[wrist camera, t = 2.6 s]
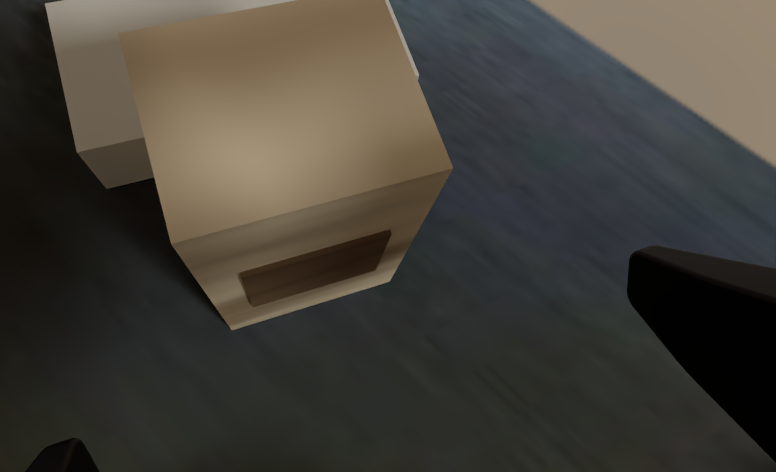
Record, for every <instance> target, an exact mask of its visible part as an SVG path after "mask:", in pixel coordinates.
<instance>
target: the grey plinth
mask: <svg viewBox="0 0 776 472" xmlns="http://www.w3.org/2000/svg"><path fill="white" fill-rule="evenodd" d="M290 1H295V0H63V1H57V2H51V3H45V6H46V11H47V16H48V20H49V25H50V30H51V34H52V39H53V44H54V48H55V53H56V58H57V62H58V67H59V72H60V76H61V81H62V86H63V90H64V95H65V100H66V104H67V109H68V114H69V118H70V123H71V128H72V132H73V137H74V142H75V146H76V151H77V153H78V154H79V156H80V157H81V158H82V159H83V161H84V162H85V163H86V164H87V166H88V167H89V168H90V169H91V171H92V172H93V173H94V174H95V175H96V177H97V178H98V179H99V180H100V182H101V183H102V184H103V185H104V187H105V188H106V189H109V188H113V187H117V186H121V185H125V184H129V183H134V182H138V181H142V180H146V179H150V178H154V174H153V170H152V166H151V162H150V158H149V154H148V150H147V146H146V142H145V138H144V134H143V130H142V126H141V122H140V118H139V114H138V110H137V106H136V103H135V99H134V95H133V91H132V87H131V83H130V79H129V75H128V71H127V67H126V63H125V59H124V55H123V51H122V47H121V43H120V39H119V35H118V33H121V32H127V31H132V30H137V29H143V28H148V27H154V26H159V25H165V24H170V23H176V22H181V21H186V20H192V19H197V18H203V17H208V16H214V15H219V14H225V13H230V12H235V11H241V10H246V9H252V8H257V7H263V6H268V5H273V4H279V3H284V2H290ZM385 2H386V4H387V6H388V9H389V11H390V14H391V16H392V19H393V21H394V24H395V26H396V29H397V31H398V34H399V36H400V38H401V41H402V43H403V46H404V48H405V51H406V53H407V56H408V58H409V61H410V63H411V65H412V68H413V70H414V73H415V75H416V78H417V80H418V77H419V74H418V71H417V69H416V66H415V64H414V61H413V59H412V57H411V54H410V52H409V49H408V47H407V44H406V42H405V39H404V37H403V35H402V32H401V30H400V27H399V25H398V22H397V20H396V17H395V15H394V13H393V10H392V8H391V5H390V3H389V0H385Z"/></svg>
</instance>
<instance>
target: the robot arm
mask: <svg viewBox="0 0 776 472" xmlns="http://www.w3.org/2000/svg"><path fill="white" fill-rule="evenodd" d="M627 295H628V298H629V301H630V303H631V304H632V306H633V307H634V309H635V310H636V311H637V312H638V313H639V315H640V316H641V317H642V318H643V320H644V321H645V322H646V323H647V324H648V326H649V327H650V328H651V329H652V331H653V332H654V333H655V334H656V336H657V337H658V338H659V339H660V340H661V342H662V343H663V344H664V345H665V347H666V348H667V349H668V350H669V352H670V353H671V354H672V355H673V356H674V358H675V359H676V360H677V361H678V362H679V364H680V365H681V366H682V367H683V368H684V369H685V371H686V372H687V373H688V374H689V375H690V376H691V377H692V378H693V379H694V380H695V381H696V382H697V383H698V384H699V385H700V386H701V387H702V388H703V389H704V390H705V391H706V392H707V393H708V394H709V395H710V396H711V397H712V398H713V399H714V400H715V401H716V403H717V404H718V405H719V406H720V407H721V408H722V409H723V410H724V411H725V412H726V413H727V414H728V415H729V416H730V417H731V418H732V419H733V420H734V421H735V422H736V423H737V424H738V425H739V426H740V427H741V428H742V429H743V430H744V431H745V432H746V433H747V434H748V435H749V436H750V437H751V438H752V439H753V440H754V441H755V442H756V443H757V444H758V445H759V446H760V447H761V448H762V449H763V450H764V451H765V452H766V453H767V454H768V455H769V456H770V457H771V458H772V459H773V460H774V461H775V462H776V269H775V268H770V267H765V266H759V265H754V264H749V263H744V262H739V261H734V260H728V259H723V258H718V257H713V256H708V255H702V254H697V253H692V252H687V251H682V250H677V249H671V248H666V247H661V246H649V247H646V248H643V249H640V250H637V251H635V252H634V253H632V255H631V257H630V259H629V270H628V284H627ZM25 472H99V470H98V468H97V467H96V465H95V463H94V461H93V459H92V458H91V456H90V454H89V452H88V450H87V449H86V447H85V445H84V443H83V442H82V441H81V440H80V439H77V438H71V439H68V440H65V441H62V442H59V443H56V444H53V445H50V446H48V447H46V448H45V449H43V451H42V452H41V453H40V454H39V455H38V456H37V458H36V459H35V460H34V461H33V462H32V464H31V465H30V466H29V467H28V469H27V470H26V471H25Z"/></svg>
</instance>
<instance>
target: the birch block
mask: <svg viewBox="0 0 776 472" xmlns="http://www.w3.org/2000/svg"><path fill="white" fill-rule="evenodd" d="M118 35H119V39H120V43H121V47H122V51H123V55H124V59H125V63H126V67H127V71H128V75H129V79H130V83H131V87H132V91H133V95H134V99H135V103H136V106H137V110H138V114H139V118H140V122H141V126H142V130H143V134H144V138H145V142H146V146H147V150H148V154H149V158H150V162H151V166H152V170H153V174H154V178H155V182H156V186H157V190H158V194H159V198H160V202H161V206H162V210H163V214H164V218H165V222H166V226H167V230H168V234H169V238H170V242H171V245H172V246H173V248H174V249H175V250H176V252H177V253H178V255H179V256H180V257H181V259H182V260H183V262H184V263H185V265H186V266H187V267H188V269H189V270H190V272H191V273H192V275H193V276H194V277H195V279H196V280H197V282H198V283H199V284H200V286H201V287H202V289H203V290H204V292H205V293H206V294H207V296H208V297H209V299H210V300H211V302H212V303H213V304H214V306H215V307H216V309H217V310H218V312H219V313H220V314H221V316H222V317H223V319H224V320H225V321H226V323H227V324H228V326H229V327H230V329H231V330H235V329H238V328H241V327H244V326H248V325H251V324H254V323H257V322H260V321H264V320H267V319H270V318H273V317H277V316H280V315H283V314H286V313H290V312H293V311H296V310H299V309H302V308H306V307H309V306H312V305H315V304H319V303H322V302H325V301H328V300H332V299H335V298H338V297H341V296H344V295H348V294H351V293H354V292H357V291H361V290H364V289H367V288H370V287H374V286H377V285H380V284H383V283H386V282H390V280H391V278H392V276H393V275H394V273H395V271H396V269H397V267H398V266H399V264H400V262H401V260H402V259H403V257H404V255H405V253H406V251H407V250H408V248H409V246H410V244H411V242H412V241H413V239H414V237H415V235H416V234H417V232H418V230H419V228H420V226H421V225H422V223H423V221H424V219H425V218H426V216H427V214H428V212H429V210H430V209H431V207H432V205H433V203H434V202H435V200H436V198H437V196H438V194H439V193H440V191H441V189H442V187H443V186H444V184H445V182H446V180H447V178H448V177H449V175H450V173H451V171H452V170H453V166H452V164H451V161H450V159H449V156H448V154H447V152H446V149H445V147H444V144H443V142H442V139H441V137H440V134H439V132H438V129H437V127H436V124H435V122H434V120H433V117H432V115H431V112H430V110H429V107H428V105H427V102H426V100H425V97H424V95H423V93H422V90H421V88H420V85H419V83H418V80H417V78H416V75H415V73H414V70H413V68H412V65H411V63H410V61H409V58H408V56H407V53H406V51H405V48H404V46H403V43H402V41H401V38H400V36H399V34H398V31H397V29H396V26H395V24H394V21H393V19H392V16H391V14H390V11H389V9H388V6H387V4H386V2H385V0H295V1H290V2H284V3H279V4H273V5H268V6H263V7H257V8H252V9H246V10H241V11H235V12H230V13H225V14H219V15H214V16H208V17H203V18H197V19H192V20H186V21H181V22H176V23H170V24H165V25H159V26H154V27H148V28H143V29H137V30H132V31H127V32H121V33H118Z"/></svg>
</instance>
